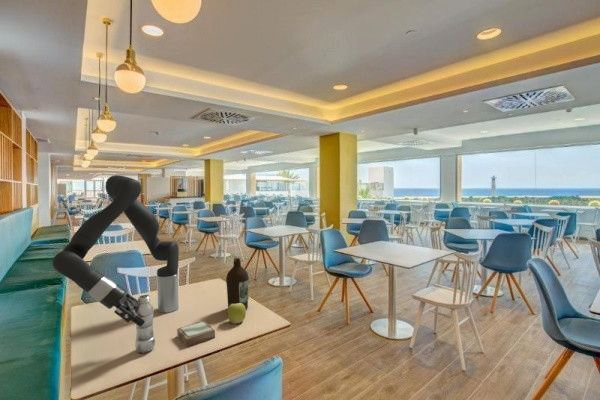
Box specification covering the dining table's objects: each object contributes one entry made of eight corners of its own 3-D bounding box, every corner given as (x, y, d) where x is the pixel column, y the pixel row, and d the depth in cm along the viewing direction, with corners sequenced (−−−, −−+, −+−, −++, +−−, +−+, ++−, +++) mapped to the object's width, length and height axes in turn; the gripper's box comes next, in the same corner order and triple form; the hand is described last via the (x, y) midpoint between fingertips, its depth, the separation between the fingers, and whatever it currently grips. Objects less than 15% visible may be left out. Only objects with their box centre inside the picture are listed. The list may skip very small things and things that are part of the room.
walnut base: (177, 336, 123) (177, 328, 123) (204, 327, 130) (203, 320, 130) (187, 347, 115) (186, 338, 115) (215, 337, 122) (214, 329, 122)
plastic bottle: (159, 347, 115) (158, 294, 114) (145, 356, 109) (143, 301, 108) (146, 344, 117) (144, 292, 116) (131, 353, 111) (129, 298, 110)
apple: (244, 324, 131) (237, 301, 131) (228, 328, 133) (221, 305, 133) (251, 316, 139) (244, 295, 139) (235, 320, 141) (229, 299, 141)
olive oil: (222, 310, 148) (221, 259, 147) (236, 303, 157) (235, 254, 156) (239, 315, 143) (238, 261, 142) (253, 307, 152) (252, 257, 151)
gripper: (110, 290, 102) (150, 318, 106) (120, 278, 115) (154, 304, 120) (92, 308, 101) (133, 336, 105) (104, 293, 114) (140, 319, 118)
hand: (144, 319), depth 112 cm, fingers open, 8 cm apart
